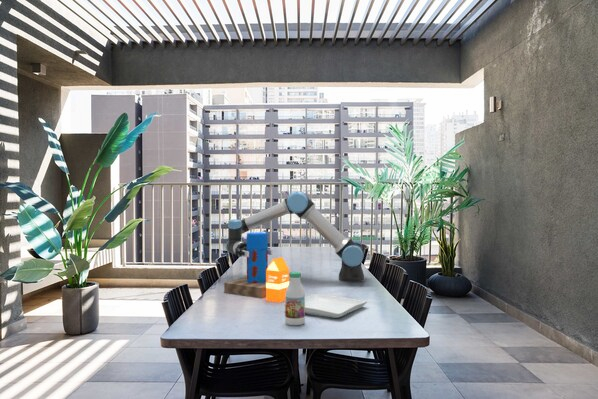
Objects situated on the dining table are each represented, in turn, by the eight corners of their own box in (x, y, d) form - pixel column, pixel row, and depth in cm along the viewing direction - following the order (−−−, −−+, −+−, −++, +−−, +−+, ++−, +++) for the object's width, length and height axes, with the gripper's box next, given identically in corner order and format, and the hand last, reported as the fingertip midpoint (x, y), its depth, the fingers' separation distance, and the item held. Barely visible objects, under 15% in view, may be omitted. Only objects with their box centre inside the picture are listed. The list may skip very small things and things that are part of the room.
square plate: (340, 322, 189) (340, 312, 188) (283, 313, 203) (283, 304, 203) (367, 308, 212) (367, 299, 211) (314, 300, 226) (314, 292, 226)
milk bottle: (284, 320, 190) (284, 271, 189) (303, 320, 190) (303, 270, 190) (285, 326, 182) (285, 274, 182) (305, 325, 183) (305, 274, 182)
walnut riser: (289, 289, 249) (289, 280, 249) (261, 298, 229) (261, 288, 229) (253, 284, 262) (253, 275, 262) (224, 292, 242) (224, 282, 242)
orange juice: (289, 298, 228) (289, 257, 228) (279, 302, 221) (279, 259, 220) (275, 297, 232) (275, 256, 232) (265, 300, 224) (265, 258, 224)
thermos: (264, 283, 239) (264, 234, 239) (244, 283, 241) (243, 234, 241) (269, 279, 250) (269, 232, 249) (250, 279, 252) (250, 232, 251)
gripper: (262, 254, 267) (281, 258, 249) (221, 257, 254) (238, 262, 236) (262, 240, 267) (281, 244, 249) (221, 243, 254) (238, 247, 236)
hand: (260, 253), depth 242 cm, fingers open, 13 cm apart
